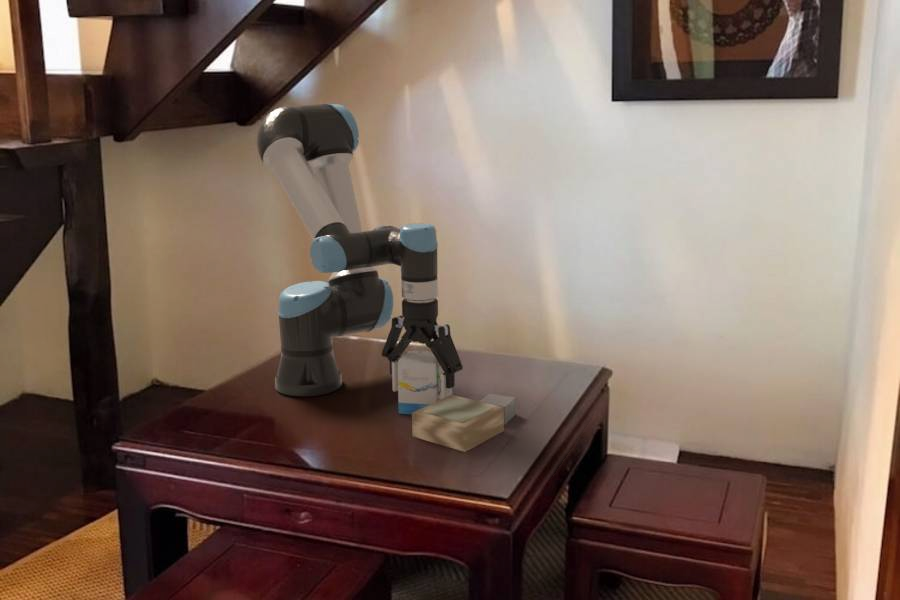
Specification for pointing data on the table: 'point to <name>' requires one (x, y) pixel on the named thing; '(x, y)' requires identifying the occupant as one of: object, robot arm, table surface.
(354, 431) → the table surface
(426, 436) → the pedestal
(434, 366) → the ink box
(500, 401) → the slate block
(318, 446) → the table surface
